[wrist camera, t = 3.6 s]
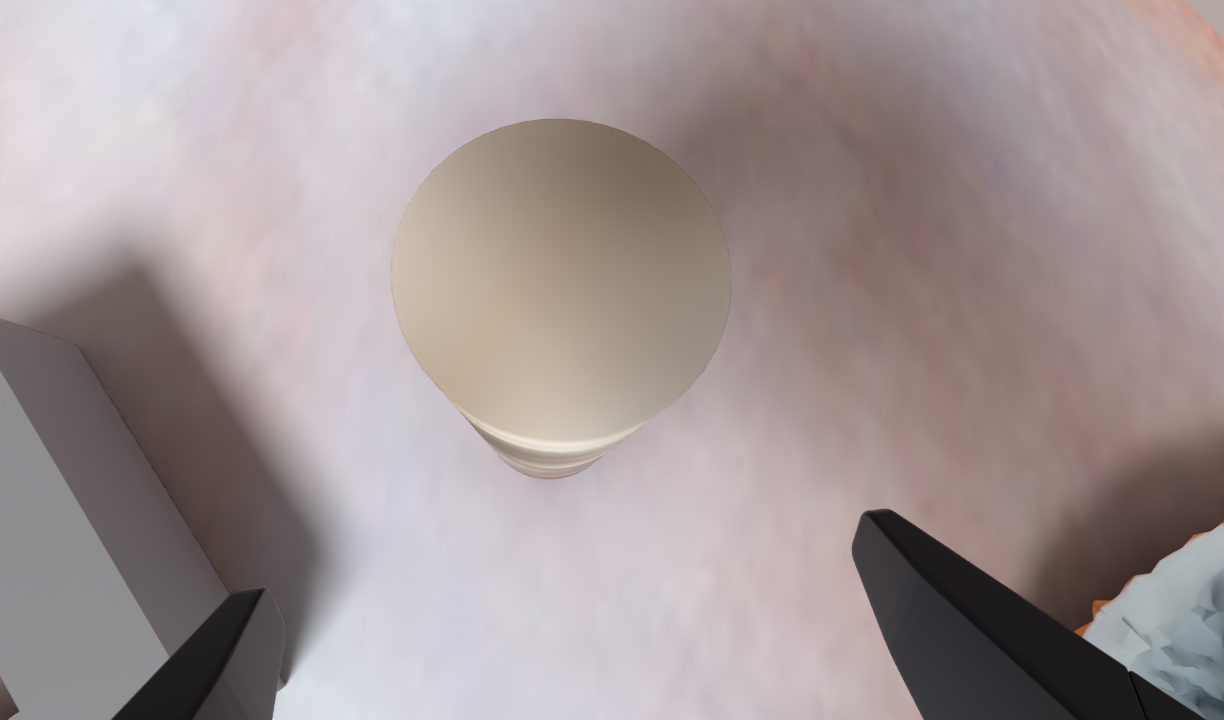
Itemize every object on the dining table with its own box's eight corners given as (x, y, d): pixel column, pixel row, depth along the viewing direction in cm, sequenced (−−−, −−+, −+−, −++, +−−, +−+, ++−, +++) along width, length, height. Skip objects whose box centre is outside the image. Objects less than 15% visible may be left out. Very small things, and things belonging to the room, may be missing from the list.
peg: (638, 387, 21) (784, 218, 9) (575, 503, 20) (635, 506, 7) (526, 324, 21) (506, 64, 9) (457, 437, 20) (318, 327, 8)
